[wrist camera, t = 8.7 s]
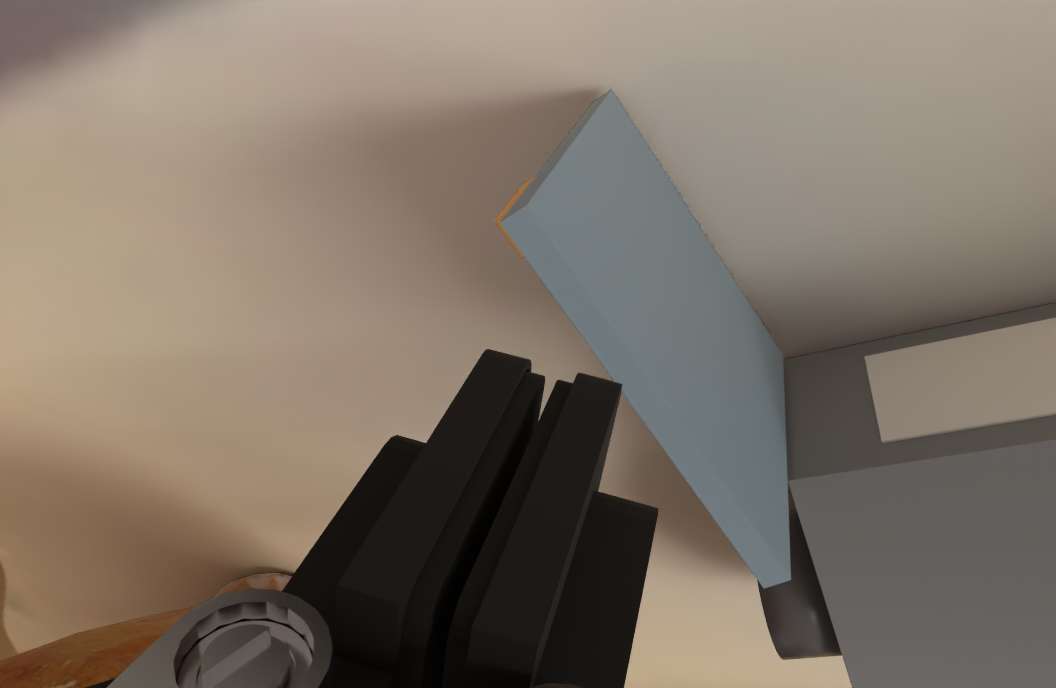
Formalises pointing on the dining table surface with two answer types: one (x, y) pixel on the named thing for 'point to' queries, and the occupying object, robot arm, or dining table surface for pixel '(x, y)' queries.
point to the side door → (664, 323)
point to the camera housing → (925, 507)
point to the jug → (105, 647)
